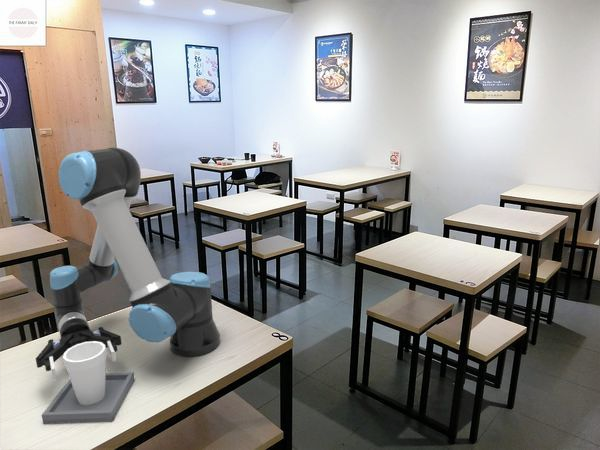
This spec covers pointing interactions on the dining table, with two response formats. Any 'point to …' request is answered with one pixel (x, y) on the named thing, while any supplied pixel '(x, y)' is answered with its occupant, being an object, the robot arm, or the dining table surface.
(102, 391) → the foam cup
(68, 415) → the serving tray
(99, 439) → the dining table surface
